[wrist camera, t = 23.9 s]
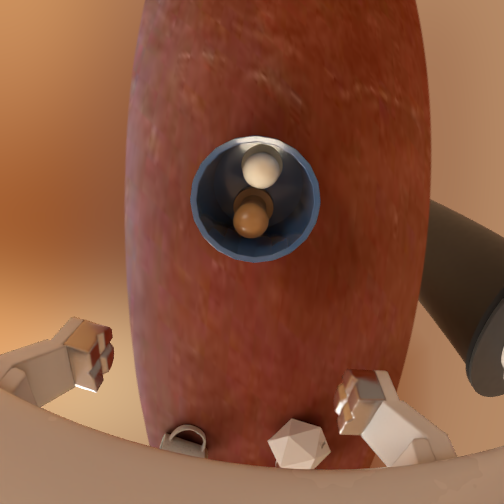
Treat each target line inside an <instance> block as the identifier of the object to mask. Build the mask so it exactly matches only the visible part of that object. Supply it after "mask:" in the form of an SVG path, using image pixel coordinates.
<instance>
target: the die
mask: <svg viewBox="0 0 504 504" xmlns="http://www.w3.org/2000/svg"><path fill="white" fill-rule="evenodd" d="M268 443H269V445H270V448H271V450H272V452H273V454H274V456H275V458H276V460H277V462H278V464H279V466H280V467H281V468H290V469H314V468H315V467H316V466H317V465H318V464H319V463H320V462H321V461H322V460H323V459H324V458H325V457H326V456H327V455H328V454H329V453H330V452H331V451H330V449H329V446H328V444H327V441H326V439H325V436H324V434H323V431H322V429H321V427H318V426H315V425H311V424H308V423H305V422H302V421H298V420H295V419H290V420H289V421H288V422H287V423H286V424H285V425H284V426H283V427H282V428H281V429H280V430H279V431H278V432H277V433H276V434H275V435H274V436H273V437H272V438H270V439H269V440H268Z"/></svg>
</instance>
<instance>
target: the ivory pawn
mask: <svg viewBox="0 0 504 504" xmlns="http://www.w3.org/2000/svg"><path fill="white" fill-rule="evenodd" d="M241 167H242V171H243V176H244V178H245V180H246V182H247V183H248V184H249V185H251V186H252V187H255V188H259V189H263V188H268V187H270V186H272V185H273V184H274V183H275V182H276V181H277V179H278V177H279V176H280V174H281V172H282V167H283V163H282V158H281V156H280V154H279V153H278V152H277V150H275V149H274V148H273V147H271V146H269V145H263V144H260V145H256V146H253V147H251V148H250V149H249V150H248V151H247V152H246V153H245V154H244V156H243V158H242V163H241Z"/></svg>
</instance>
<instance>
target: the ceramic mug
mask: <svg viewBox="0 0 504 504" xmlns="http://www.w3.org/2000/svg"><path fill="white" fill-rule="evenodd" d="M185 430H192V431H194V432H196V433H197V434H199V435H200V436H201V437H202V439H203V444H202V446H201V445H199V444H196V443H193V442H189V441H187V440H184V439H181V438H179V437H175V435H176V434H177V433H179V432H182V431H185ZM205 447H206V437H205V434H204V432H203V431H202V430H201V429H199V428H198V427H195V426H192V425H182V426H179V427H177V428H176V429H175V430H174V431H173V432H172V433H171V435H170V434H167V433H165V434H164V436H163V439H162V442H161V445H160V448H159V449H163V450H167V451H171V452H176V453H180V454H185V455H190V456H195V457H200V458H205V459H208V450H207V449H206V448H205Z"/></svg>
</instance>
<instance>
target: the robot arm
mask: <svg viewBox="0 0 504 504" xmlns="http://www.w3.org/2000/svg"><path fill="white" fill-rule="evenodd" d="M111 339H112V329H111V328H110V327H107V326H103V325H100V324H96V323H93V322H90V321H87V320H83V319H80V318H77V317H71V318H70V319H69V320H68V322H67V323H66V324H65V325H64V326H63V327H62V328H61V329H60V330H59V332H58V333H57V334H56V335H55V336H54V337H53V338H52V339H51V340H48V339H46V340H43V341H40V342H37V343H34V344H31V345H28V346H25V347H22V348H19V349H16V350H13V351H10V352H7V353H4V354H1V355H0V504H504V446H501V447H498V448H494V449H491V450H487V451H483V452H479V453H475V454H470V455H466V456H461V457H457V455H456V453H455V450H454V448H453V446H452V444H451V441H450V439H449V437H448V435H447V434H446V433H445V432H443V431H442V430H441V429H439V428H438V427H437V426H435V425H434V424H433V423H432V422H430V421H429V420H427V419H426V418H425V417H424V416H422V415H421V414H420V413H418V412H417V411H416V410H415V409H413V408H412V407H411V406H409V405H408V404H407V403H406V402H404V401H400V400H399V397H398V395H397V393H396V390H395V388H394V386H393V383H392V381H391V379H390V376H389V374H388V372H387V371H385V370H358V369H346V370H345V372H344V374H343V376H342V380H343V383H342V384H340V385H339V386H338V387H337V389H336V392H335V395H334V410H335V412H336V413H337V414H338V415H339V416H338V418H337V420H336V421H337V426H338V431H339V434H341V435H362V436H361V437H362V438H363V439H364V440H365V441H366V442H367V444H368V445H369V446H370V447H371V448H372V449H373V451H374V452H375V453H376V454H377V455H378V456H379V457H380V459H381V460H382V461H383V462H384V463H385V464H386V465H387V467H384V468H369V469H343V470H317V469H290V468H276V467H264V466H254V465H245V464H238V463H230V462H223V461H217V460H211V459H205V458H200V457H195V456H190V455H185V454H180V453H176V452H171V451H167V450H163V449H159V448H155V447H151V446H147V445H143V444H139V443H136V442H132V441H129V440H125V439H123V438H119V437H116V436H113V435H110V434H107V433H104V432H101V431H98V430H95V429H92V428H90V427H87V426H84V425H81V424H79V423H76V422H73V421H71V420H69V419H66V418H64V417H61V416H59V415H57V414H54V413H52V412H50V411H47V410H45V409H43V408H41V407H42V406H43V405H45V404H47V403H48V402H50V401H52V400H54V399H55V398H57V397H59V396H60V395H62V394H64V393H66V392H67V391H69V390H71V389H73V388H74V387H75V386H78V387H80V388H83V389H87V390H90V391H93V392H97V390H98V389H99V387H100V385H101V384H102V382H103V374H104V373H107V372H109V370H110V368H111V366H112V363H113V359H114V348H113V346H112V345H111V343H110V341H111ZM501 363H502V366H503V368H504V348H503V351H502V356H501ZM503 379H504V375H503Z"/></svg>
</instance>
